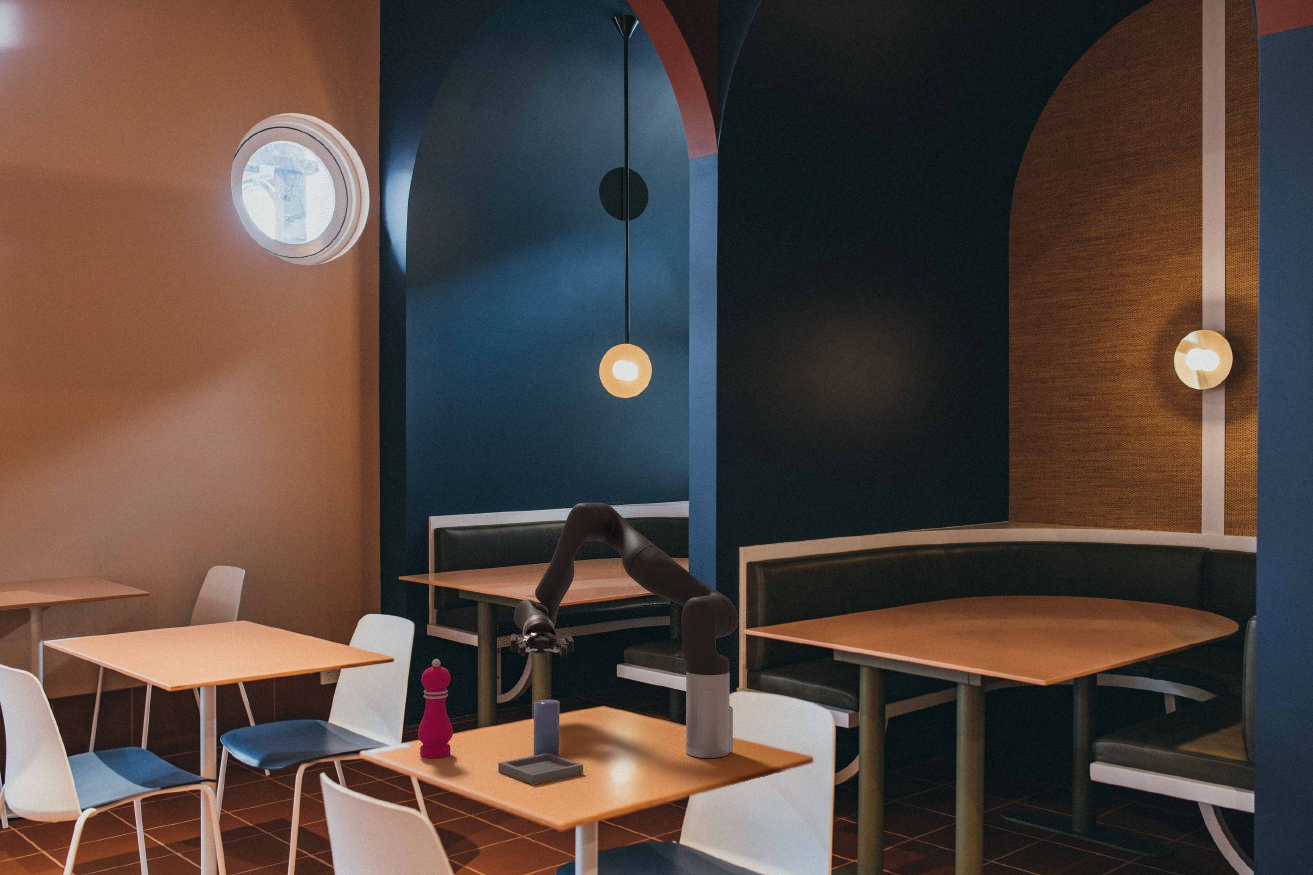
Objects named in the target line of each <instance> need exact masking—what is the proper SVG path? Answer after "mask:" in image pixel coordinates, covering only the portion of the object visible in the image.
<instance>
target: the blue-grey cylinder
mask: <svg viewBox="0 0 1313 875" xmlns="http://www.w3.org/2000/svg"><path fill="white" fill-rule="evenodd" d="M560 704H561V702H560V701H559V700H557V699H539V700H535V701H534V702H533V756H535V755H540V754H545V753H550V754H553V755H556V756H558V755H559V756H560Z"/></svg>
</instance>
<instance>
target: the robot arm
mask: <svg viewBox="0 0 1313 875" xmlns="http://www.w3.org/2000/svg"><path fill="white" fill-rule="evenodd" d="M585 542H600V543H601V542H602V543H605V544H606V545H608V546H610V547H611V548H613V550H615V551H616V552H617V553H618V554H619V555H620V557H621V561H622V562H621V563H622V566H623V568H624V571H625V572H626V574H627V575H628V576H629V577H630V578H631V579H632V580H633V581H634V582H636V583H637V584H638V585H639V586H640V587H642V588H643V589H644V590H646V591H648V592H649V593H651V594H653V595H655V596H658V597H660V598H662V599H665V600H668V601H670V602H673V603H676V604H679V605H680V606H682V612H681V619H680V620H681V621H680V622H681V623H680V626H681V645H682V647H681V648H682V656H683V659H684V662H685V665H686V666H685V674H686V675H685V676H686V677H685V682H686V683H685V685H686V686H685V690H686V691H685V692H686V693H685V694H686V695H685V698H686V699H685V703H686V705H685V706H686V707H685V709H686V710H685V712H686V713H685V720H686V721H685V722H686V724H685V745H686V746H685V747H686V749H685V753H686V755H689V756H692V757H696V758H702V759H705V758H707V759H713V758H721V757H726V756H728V755H730V753H733V751H734V743H733V741H734V738H733V737H734V708H733V706H731V705H730V660H729V658H728V657H727V656H724V655H723V654H720V653H719V652H718V651H717V646H716V645H717V642H716V639H722V638H725V637H728V636H730V635H731V634H732V633H734V632H735V631H736V629H737V628H738V624H739V615H738V611H737V607H736V606H735V605H734V603H733V602H732V601H731V600H730V598H728V597H727V596H725V594H723V593H721V592H719V591H718V590H716V589H715V588H713V587H711V586H709V585H708V584H706V583H704V582H702V580H700V579H698V578H697V577H696V576H694V575H693V574H692V573H691V572H690V571H688V570H687V569H686V568H684V567H683V565H680V564H679V562H676V560H674V559H673V558H672V557H670V555H668V553H666V552H665V551H663V550H662V549H661V548H659V546H657V545H656V544H654V543H653V542H652V541H650V540H649V539H647V538H646V536H644V535H643V534H641V533H640V532H639V531H637V530H636V529H635V528H634V527H632V526H631V525H630V523H629V522H628V521H627V520H626V519H625V518H624V517H623V516H622V515H621V514H620V513H619V512H618V511H617V510H616V509H615V508H614V507H613V506H611V505H610V504H607V503H604V502H581V503H580V502H579V503H577V504H575V505H574V506H573V507H572V509H571V510H570V511H569V513H568V515H567V518H566V520H565V522H564V525H563V528H562V531H561V533H560V536H559V538H558V542H557V545H556V548H555V551H554V554H553V555H552V559H551V560H550V563H549V565H548V567H547V568H546V570H545V573H544V574H543V575H542V578H541V579H540V581H539V583H538V585H537V586H536V588H535V589H534V590H535V591H534V595H535V598H536V599H537V601H538V602H537V601H534V600H532V599H528V598H527V599H524V600H522V601H520V602H519V603H518V604H517V605H516V608H515V609H514V614H513V620H514V624H515V625H516V627H517V628H518V629H520V631H522V637H519V635H517V634H515V633H512V634H511V635H510V644H509V646H510V648H509V652H516V650H517V652H518V654H519V655H521V657H525V656H526V654H527V653H530V652H531V653H532V654H538V655H542V654H546V653H549V652H552V653H559V656H560V657H565V655H567V654H568V653H574V650H575V649H574V643H575V641H574V638H573V637H572V635H570V634H565V636H564V637H563V638H561V637H560V636H558V635H557V632H556V629H555V626H556V622H557V619H558V618H557V617H558V612H559V609H560V605H561V604H562V601H563V599H564V597H565V596H566V594H567V592H568V591H569V589H570V587H571V585H572V583H573V580H574V577H575V556H576V553H578V551H579V549H580V548H581V547H582V546H583V544H584V543H585Z"/></svg>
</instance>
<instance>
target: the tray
mask: <svg viewBox="0 0 1313 875" xmlns="http://www.w3.org/2000/svg"><path fill="white" fill-rule="evenodd" d="M497 768H498V773H500V774H503V775H506V776H508V777H510V778H514V779H516V780H518V781H521V782H524V783H527V784H529V785H531V786H535V785H537V784H538V785H539V784H543V783H548V782H553V781H558V780H560V779H566V778H571V777H575V776H580V775H584V764H582V763H579V762H576V761H574V760H571V759H567V758H564V757H562V756H560V755H559V756H556V755H553V754H550V753H545V754H540V755H535V756H534V755H531V756H526V757H521V758H515V759H511V760H505V761H500V762H498V767H497Z"/></svg>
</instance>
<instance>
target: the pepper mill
mask: <svg viewBox="0 0 1313 875" xmlns="http://www.w3.org/2000/svg"><path fill="white" fill-rule="evenodd" d="M450 683H451V674H450V672H449V670H448V669H447V668H445V667H443V666H441V661H440V659H438V658H435V659H433V660H432V662H431V666H429V667H427V669H425V670H424V671H423V673H422V674H421V684H422V687H424V690H423V693H424V694H423V698H425V709H424V713H423V717H422V718H421V721H420V724H419V727H418V730H417V738H418V740H419V742H421V744H422V745H421V746H420V748H419V755H420V757H421V758H426V759H440V758H445V757H448V756H449V755H450V754H451V745H450V743H449V742H450V741H451V739H452V738H453V734H454V733H453V731H454V730H453V726H452V723H451V720H450V718H449V716H448V712H447V706H446V700H447V697H448V696H449V694H448V692H449V690H448V689H447V687H448V686H449V685H450Z"/></svg>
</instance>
